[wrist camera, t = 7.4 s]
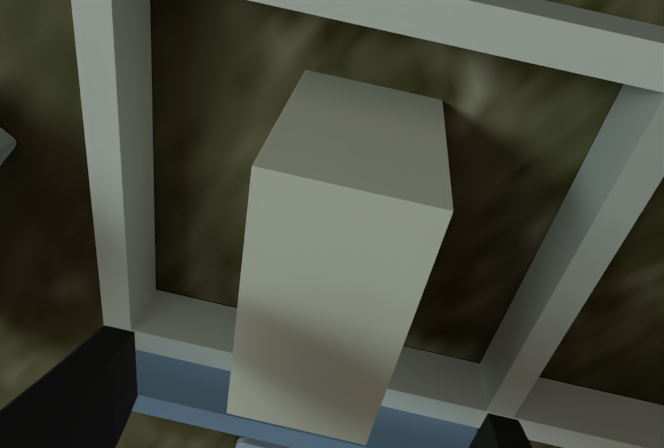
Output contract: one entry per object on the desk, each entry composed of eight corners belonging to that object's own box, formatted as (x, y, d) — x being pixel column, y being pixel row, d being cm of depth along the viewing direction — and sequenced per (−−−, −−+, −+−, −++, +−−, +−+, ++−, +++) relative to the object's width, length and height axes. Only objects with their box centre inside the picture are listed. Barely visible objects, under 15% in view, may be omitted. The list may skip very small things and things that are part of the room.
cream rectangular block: (379, 300, 20) (366, 444, 15) (274, 276, 20) (226, 412, 15) (442, 99, 15) (453, 211, 10) (305, 68, 15) (252, 165, 10)
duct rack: (822, 477, 22) (895, 586, 18) (132, 319, 22) (82, 399, 19) (1249, 156, 13) (1525, 253, 10) (110, -96, 13) (10, -84, 10)
